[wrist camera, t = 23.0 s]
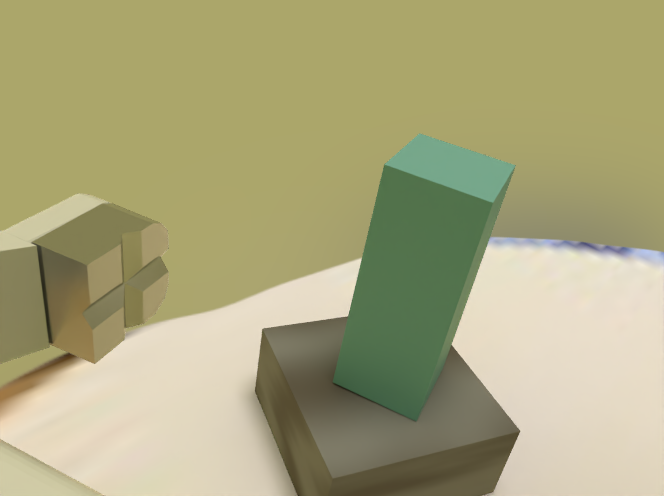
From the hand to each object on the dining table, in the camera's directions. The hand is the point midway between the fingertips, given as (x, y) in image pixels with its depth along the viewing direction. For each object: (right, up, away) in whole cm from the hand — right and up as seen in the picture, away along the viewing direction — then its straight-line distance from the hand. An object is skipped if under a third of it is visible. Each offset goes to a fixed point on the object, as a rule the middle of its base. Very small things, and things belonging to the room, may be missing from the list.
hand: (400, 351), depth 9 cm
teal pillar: (+2, -5, +24) cm, 24 cm away
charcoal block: (+1, -9, +26) cm, 28 cm away
